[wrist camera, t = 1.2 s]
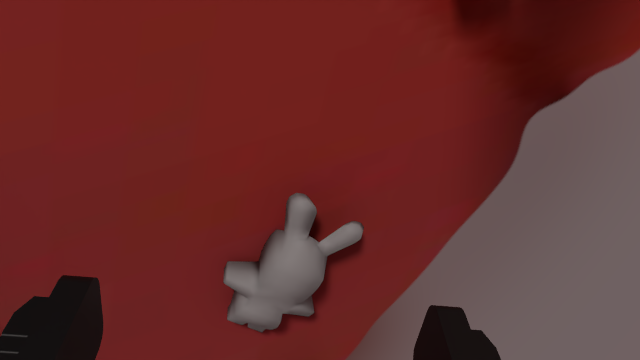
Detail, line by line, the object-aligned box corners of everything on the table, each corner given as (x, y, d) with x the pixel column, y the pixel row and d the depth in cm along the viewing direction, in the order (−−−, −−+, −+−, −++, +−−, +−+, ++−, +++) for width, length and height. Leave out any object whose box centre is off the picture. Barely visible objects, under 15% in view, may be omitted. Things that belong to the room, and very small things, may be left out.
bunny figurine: (199, 323, 47) (290, 206, 41) (203, 283, 51) (286, 172, 45) (287, 354, 51) (382, 251, 45) (283, 314, 55) (369, 215, 49)
